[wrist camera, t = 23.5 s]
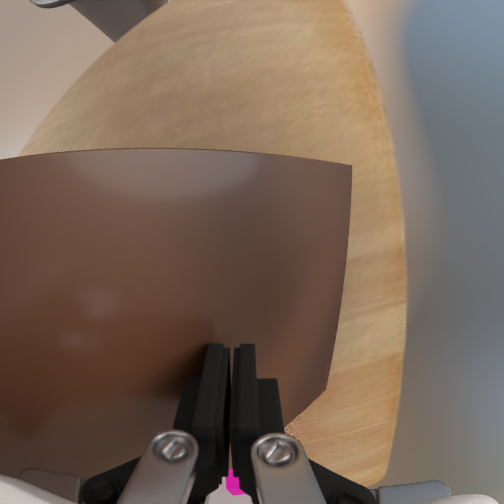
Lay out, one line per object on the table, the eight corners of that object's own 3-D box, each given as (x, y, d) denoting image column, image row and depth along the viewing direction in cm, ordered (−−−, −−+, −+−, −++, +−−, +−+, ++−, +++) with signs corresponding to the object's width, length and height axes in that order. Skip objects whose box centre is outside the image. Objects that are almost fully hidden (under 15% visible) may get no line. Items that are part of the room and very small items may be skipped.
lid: (62, 537, 6) (68, 548, 5) (-126, 198, 1) (-138, 200, 1) (317, 385, 20) (326, 389, 19) (340, 164, 16) (352, 165, 15)
